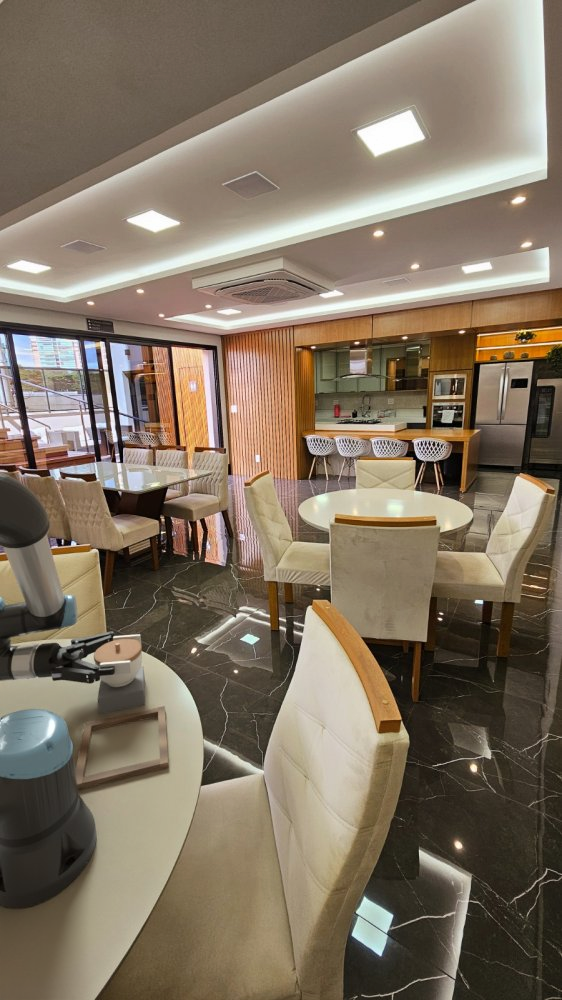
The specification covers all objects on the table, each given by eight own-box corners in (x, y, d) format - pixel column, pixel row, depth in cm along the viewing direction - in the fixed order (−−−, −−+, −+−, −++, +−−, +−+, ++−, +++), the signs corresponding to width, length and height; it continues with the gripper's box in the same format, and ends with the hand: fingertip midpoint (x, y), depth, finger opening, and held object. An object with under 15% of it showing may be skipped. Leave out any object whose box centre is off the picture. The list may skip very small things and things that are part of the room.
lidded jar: (125, 697, 98) (121, 659, 96) (87, 688, 102) (82, 652, 100) (153, 670, 108) (149, 635, 106) (117, 663, 112) (113, 629, 110)
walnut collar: (168, 767, 85) (168, 762, 85) (73, 790, 80) (72, 785, 80) (165, 710, 101) (164, 705, 101) (85, 727, 96) (84, 722, 96)
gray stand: (144, 704, 103) (143, 690, 102) (99, 714, 100) (97, 699, 99) (144, 680, 112) (143, 666, 111) (103, 688, 109) (101, 673, 109)
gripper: (59, 648, 114) (146, 641, 116) (18, 708, 91) (126, 698, 94) (55, 621, 112) (143, 615, 115) (12, 676, 90) (122, 666, 92)
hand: (135, 652), depth 104 cm, fingers open, 11 cm apart
